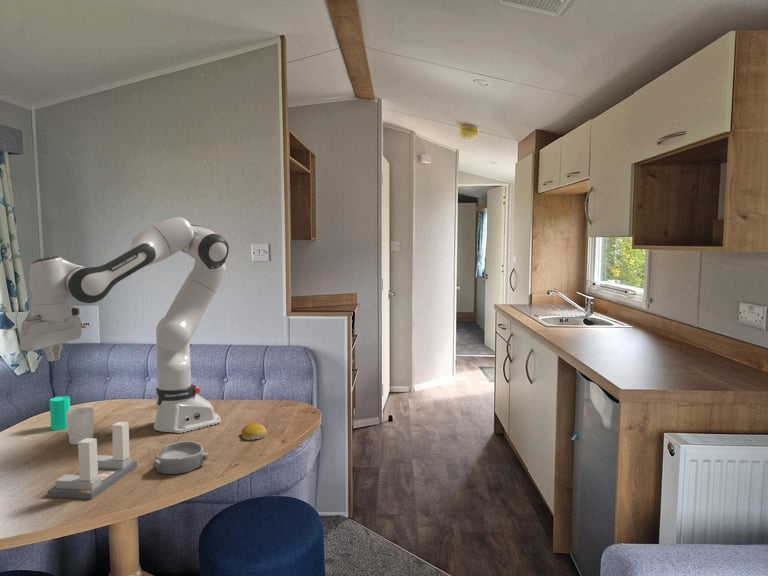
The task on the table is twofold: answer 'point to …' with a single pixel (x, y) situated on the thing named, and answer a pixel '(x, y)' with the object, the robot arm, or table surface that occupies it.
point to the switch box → (89, 489)
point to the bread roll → (254, 431)
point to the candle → (59, 412)
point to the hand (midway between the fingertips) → (53, 360)
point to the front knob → (88, 459)
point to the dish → (180, 457)
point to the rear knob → (120, 440)
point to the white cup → (80, 424)
